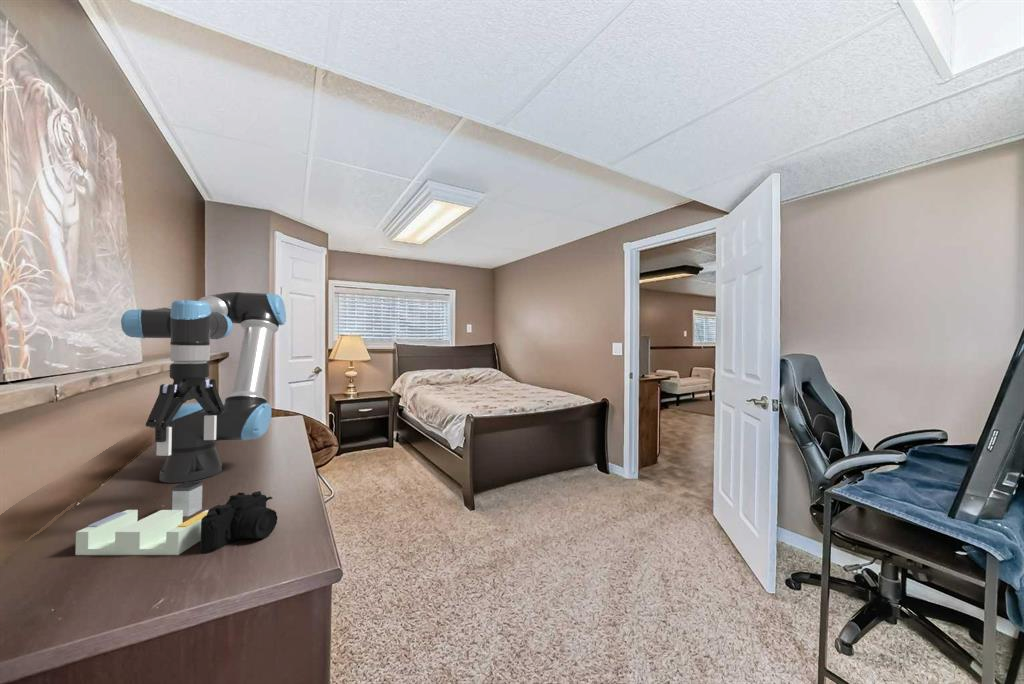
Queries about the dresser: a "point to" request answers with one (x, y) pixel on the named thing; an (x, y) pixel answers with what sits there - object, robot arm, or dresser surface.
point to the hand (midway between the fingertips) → (188, 447)
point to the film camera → (237, 521)
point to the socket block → (140, 534)
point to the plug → (187, 497)
